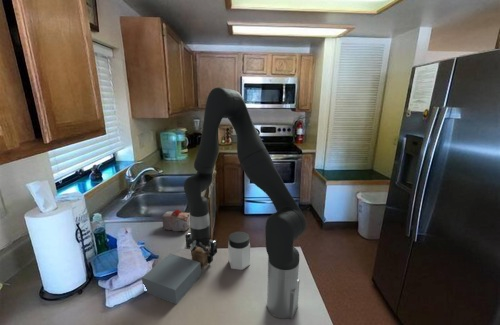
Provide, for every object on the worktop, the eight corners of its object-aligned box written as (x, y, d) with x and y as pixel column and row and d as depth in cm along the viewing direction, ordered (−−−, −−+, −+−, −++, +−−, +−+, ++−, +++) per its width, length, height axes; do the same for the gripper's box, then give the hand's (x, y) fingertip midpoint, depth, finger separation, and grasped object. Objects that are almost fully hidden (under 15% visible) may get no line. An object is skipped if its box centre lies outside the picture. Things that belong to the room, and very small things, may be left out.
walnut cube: (211, 259, 97) (211, 248, 95) (203, 268, 92) (202, 255, 91) (200, 255, 99) (200, 244, 98) (192, 263, 94) (191, 251, 93)
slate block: (201, 276, 88) (200, 262, 87) (176, 305, 76) (175, 290, 74) (171, 266, 93) (170, 253, 92) (143, 292, 81) (141, 277, 79)
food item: (193, 225, 123) (192, 208, 121) (187, 233, 116) (186, 215, 113) (168, 223, 125) (167, 206, 122) (161, 231, 117) (159, 213, 115)
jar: (227, 258, 98) (226, 232, 95) (245, 254, 100) (245, 229, 97) (231, 272, 90) (231, 245, 86) (252, 268, 92) (252, 241, 89)
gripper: (220, 223, 91) (221, 259, 96) (191, 215, 97) (194, 249, 102) (209, 232, 85) (211, 271, 89) (179, 223, 91) (182, 260, 95)
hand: (202, 259), depth 95 cm, fingers open, 7 cm apart
